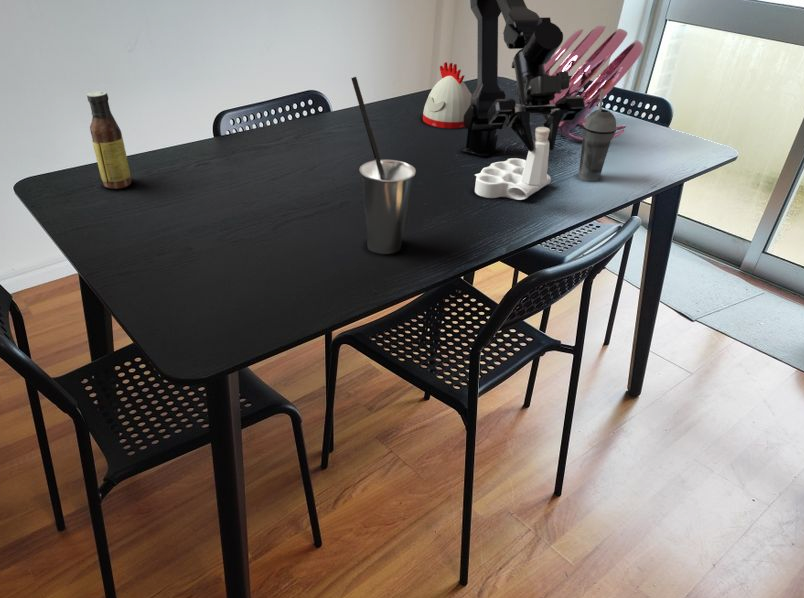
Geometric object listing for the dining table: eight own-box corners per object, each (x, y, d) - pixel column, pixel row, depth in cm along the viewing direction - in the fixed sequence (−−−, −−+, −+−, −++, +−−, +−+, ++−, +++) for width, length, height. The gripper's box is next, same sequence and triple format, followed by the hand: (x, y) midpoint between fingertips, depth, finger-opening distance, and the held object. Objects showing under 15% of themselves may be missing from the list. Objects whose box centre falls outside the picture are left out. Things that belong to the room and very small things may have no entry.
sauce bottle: (137, 181, 159) (121, 90, 147) (121, 192, 154) (103, 99, 142) (112, 177, 161) (94, 87, 149) (95, 188, 156) (76, 95, 144)
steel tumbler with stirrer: (349, 233, 140) (351, 75, 122) (405, 232, 141) (415, 75, 123) (353, 260, 131) (356, 94, 114) (414, 258, 132) (426, 93, 114)
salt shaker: (550, 179, 148) (561, 127, 141) (540, 188, 144) (550, 135, 137) (526, 173, 150) (535, 122, 143) (516, 182, 146) (524, 129, 140)
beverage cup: (606, 185, 161) (627, 95, 150) (573, 182, 163) (591, 92, 151) (603, 173, 167) (623, 85, 156) (571, 170, 168) (589, 83, 157)
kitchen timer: (445, 109, 205) (450, 54, 196) (483, 121, 197) (490, 64, 188) (412, 119, 197) (416, 62, 188) (449, 131, 189) (455, 73, 180)
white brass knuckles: (517, 208, 151) (459, 189, 158) (556, 183, 162) (499, 167, 169) (520, 193, 149) (460, 175, 156) (558, 169, 160) (501, 153, 167)
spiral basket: (691, 58, 178) (611, -17, 176) (657, 113, 163) (570, 32, 161) (612, 128, 202) (542, 63, 200) (577, 181, 187) (500, 112, 185)
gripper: (500, 56, 134) (511, 134, 132) (592, 54, 137) (604, 130, 135) (482, 86, 145) (492, 159, 143) (567, 83, 148) (578, 154, 146)
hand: (541, 150), depth 142 cm, fingers closed on salt shaker, 4 cm apart
